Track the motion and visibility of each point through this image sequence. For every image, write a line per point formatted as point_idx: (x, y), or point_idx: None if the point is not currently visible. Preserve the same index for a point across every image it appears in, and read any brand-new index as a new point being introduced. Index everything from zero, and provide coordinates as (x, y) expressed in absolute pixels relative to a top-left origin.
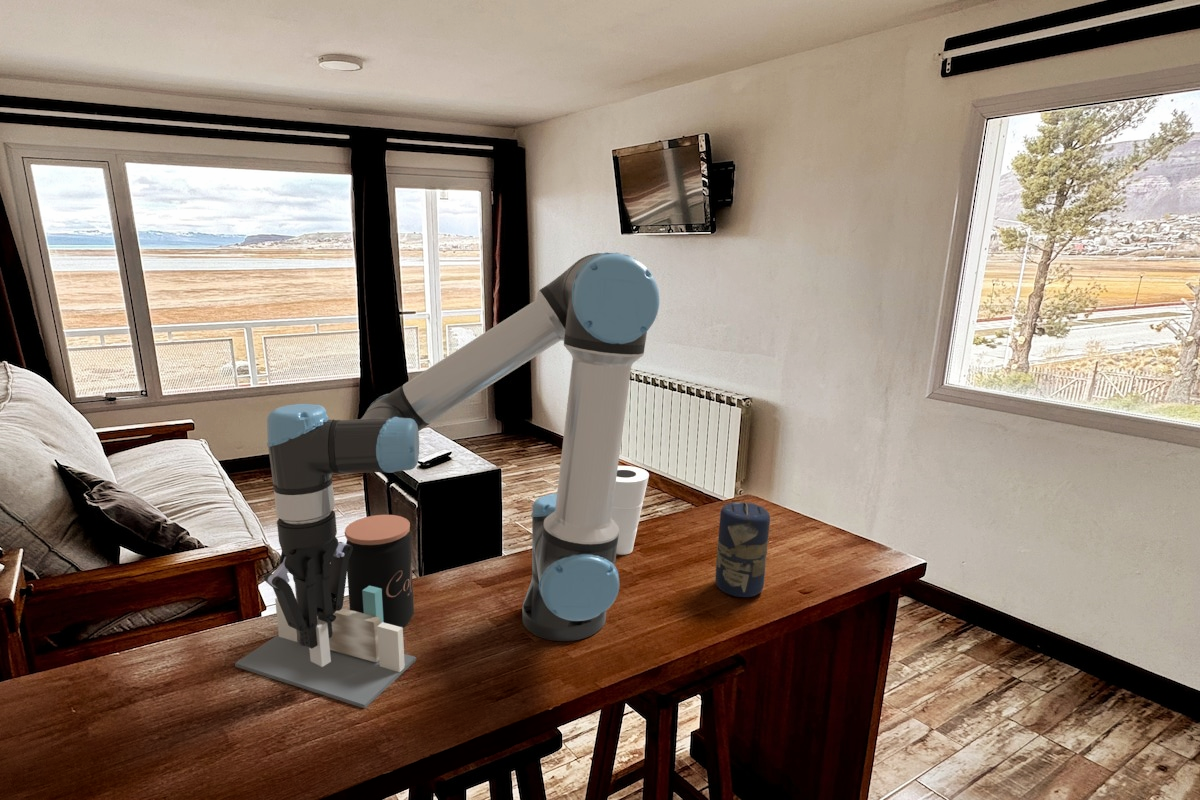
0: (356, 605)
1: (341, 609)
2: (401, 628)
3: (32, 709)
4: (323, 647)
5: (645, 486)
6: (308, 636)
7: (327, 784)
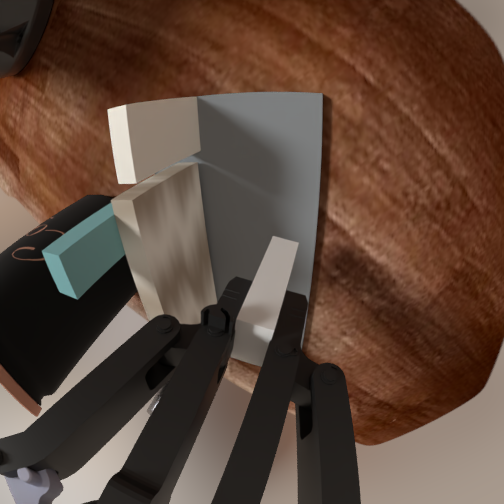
0: (120, 290)
1: (149, 310)
2: (111, 109)
3: (392, 433)
4: (279, 271)
5: None
6: (302, 330)
7: (498, 66)
